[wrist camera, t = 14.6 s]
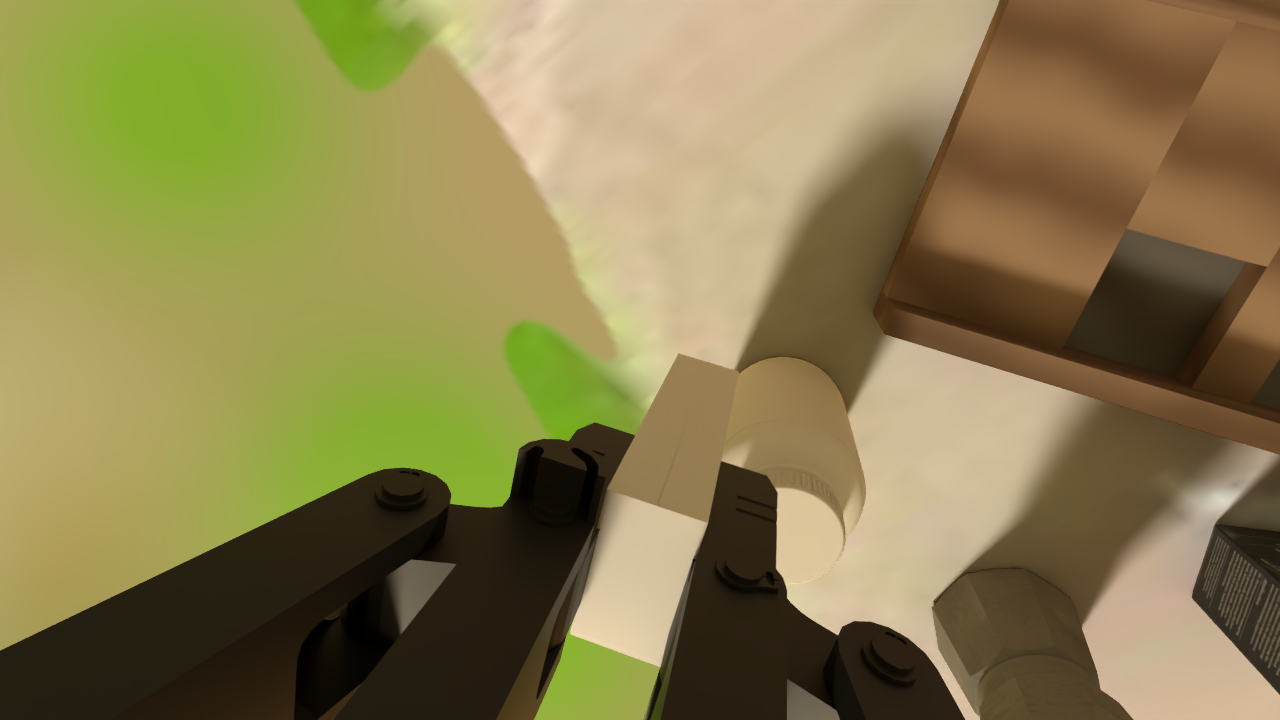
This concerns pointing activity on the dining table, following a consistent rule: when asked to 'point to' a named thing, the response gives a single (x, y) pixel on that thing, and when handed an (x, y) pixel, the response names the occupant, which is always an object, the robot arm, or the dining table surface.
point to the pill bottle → (799, 460)
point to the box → (1244, 593)
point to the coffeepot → (1019, 649)
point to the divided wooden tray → (1111, 211)
